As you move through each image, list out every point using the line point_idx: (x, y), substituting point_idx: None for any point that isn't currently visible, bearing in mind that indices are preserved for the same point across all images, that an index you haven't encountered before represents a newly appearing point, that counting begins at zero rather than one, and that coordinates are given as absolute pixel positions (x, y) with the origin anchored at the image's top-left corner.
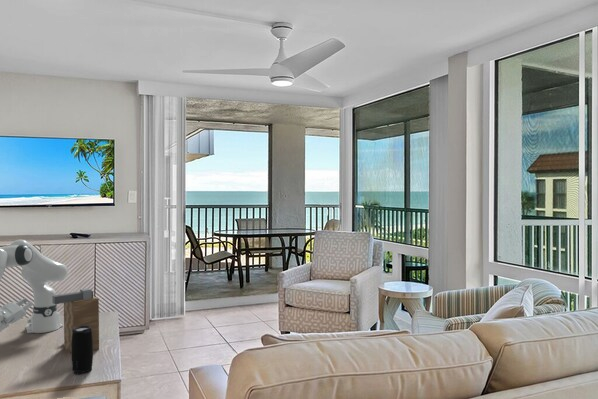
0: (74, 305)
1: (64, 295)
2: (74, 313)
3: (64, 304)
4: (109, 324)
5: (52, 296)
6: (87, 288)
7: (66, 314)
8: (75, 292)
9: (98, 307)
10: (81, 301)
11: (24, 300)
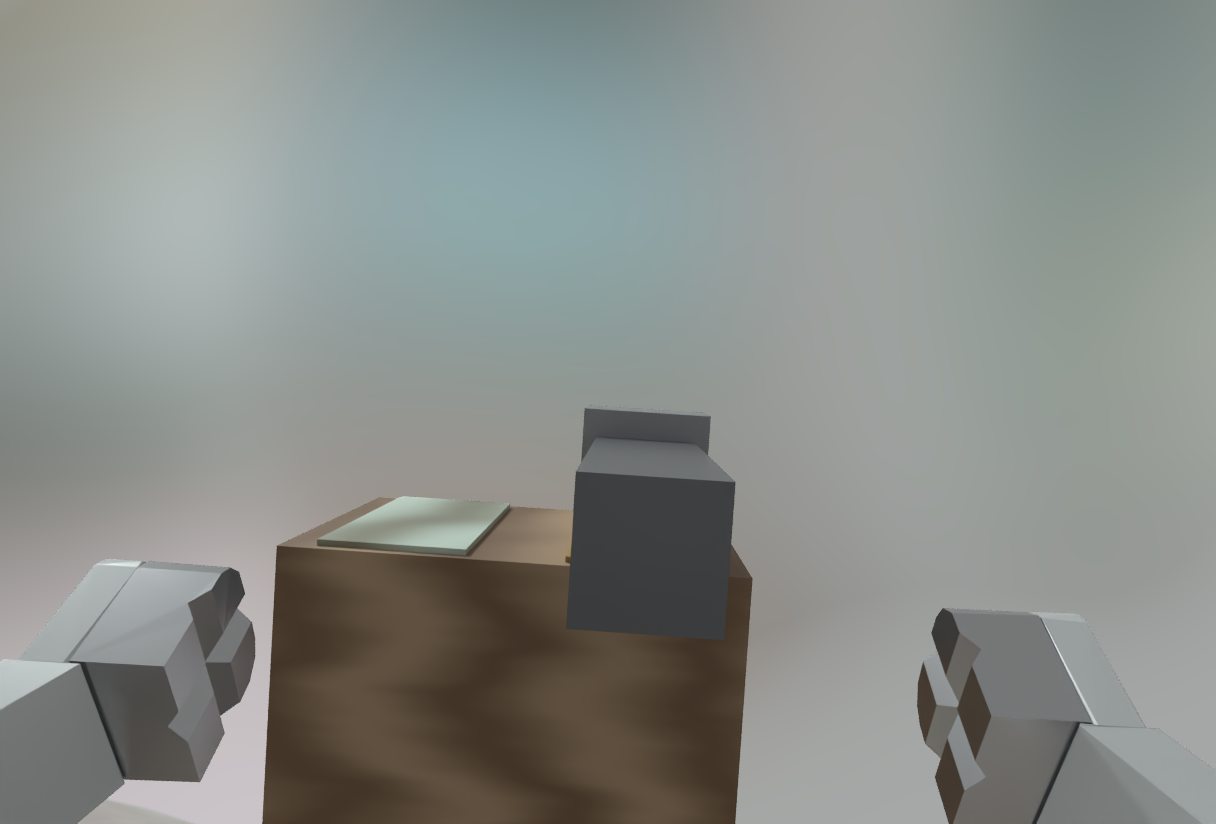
0: (748, 622)
1: (715, 464)
2: (738, 745)
3: (307, 656)
4: None
5: (583, 487)
6: (597, 406)
7: (390, 805)
8: (608, 441)
9: None
10: (737, 558)
11: (200, 649)
